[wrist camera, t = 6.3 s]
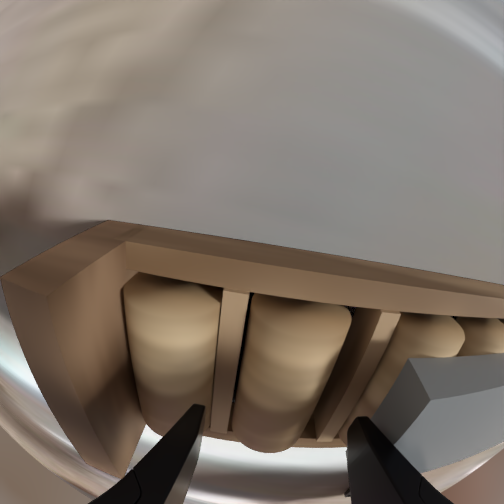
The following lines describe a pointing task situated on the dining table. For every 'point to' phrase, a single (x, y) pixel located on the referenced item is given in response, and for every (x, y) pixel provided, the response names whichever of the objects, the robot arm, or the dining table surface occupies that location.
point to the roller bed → (297, 287)
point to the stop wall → (81, 341)
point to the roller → (285, 368)
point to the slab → (444, 409)
